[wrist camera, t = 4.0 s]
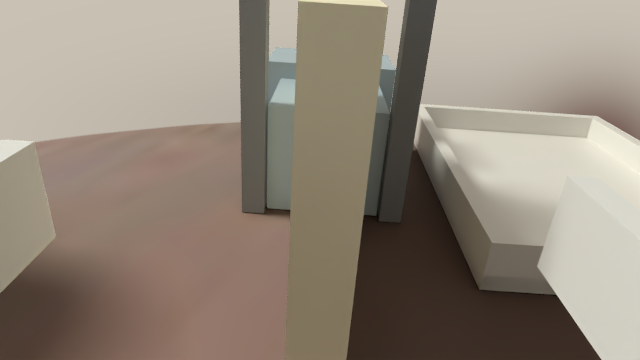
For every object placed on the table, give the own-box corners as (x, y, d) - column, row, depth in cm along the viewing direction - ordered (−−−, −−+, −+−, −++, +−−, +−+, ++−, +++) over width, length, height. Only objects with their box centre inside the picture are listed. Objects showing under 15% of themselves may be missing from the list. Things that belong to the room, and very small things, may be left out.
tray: (587, 143, 39) (597, 116, 38) (825, 313, 20) (858, 267, 19) (408, 131, 39) (412, 103, 38) (479, 289, 20) (492, 242, 19)
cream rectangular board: (338, 186, 29) (356, -19, 24) (343, 385, 15) (388, 6, 10) (307, 184, 29) (318, -21, 24) (284, 381, 15) (298, 1, 10)
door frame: (380, 146, 35) (407, -63, 29) (400, 222, 25) (449, -77, 19) (268, 138, 35) (272, -73, 29) (242, 211, 25) (238, -92, 19)
